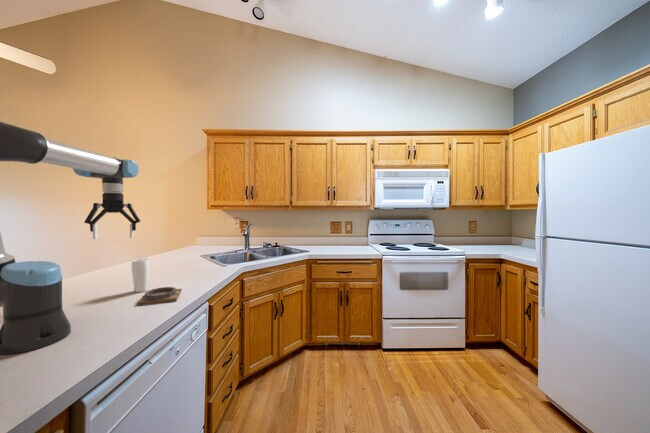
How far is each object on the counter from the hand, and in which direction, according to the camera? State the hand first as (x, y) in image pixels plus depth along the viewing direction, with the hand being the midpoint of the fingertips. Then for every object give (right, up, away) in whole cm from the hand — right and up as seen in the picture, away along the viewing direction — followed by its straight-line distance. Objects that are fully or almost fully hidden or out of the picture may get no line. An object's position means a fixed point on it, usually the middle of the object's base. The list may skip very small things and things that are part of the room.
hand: (114, 238), depth 119 cm
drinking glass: (+11, -26, +3) cm, 28 cm away
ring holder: (+26, -26, -6) cm, 38 cm away
